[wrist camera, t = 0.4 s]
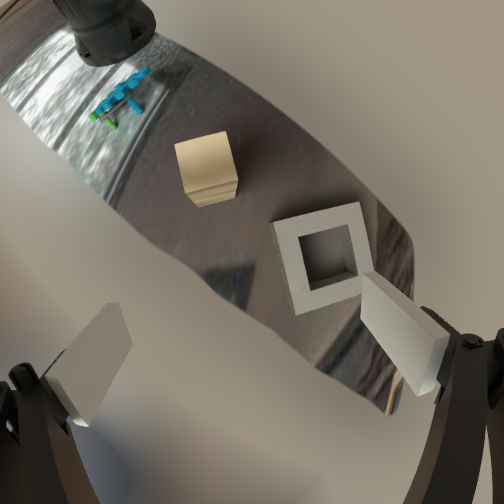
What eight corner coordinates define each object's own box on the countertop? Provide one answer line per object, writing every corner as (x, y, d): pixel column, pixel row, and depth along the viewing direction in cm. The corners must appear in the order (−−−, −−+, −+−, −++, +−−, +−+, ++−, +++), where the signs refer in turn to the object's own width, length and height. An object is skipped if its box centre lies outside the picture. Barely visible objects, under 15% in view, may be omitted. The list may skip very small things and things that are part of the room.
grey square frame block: (268, 223, 37) (273, 222, 33) (346, 204, 38) (359, 201, 34) (289, 307, 38) (295, 315, 34) (363, 283, 39) (376, 287, 35)
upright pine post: (190, 172, 36) (174, 144, 24) (225, 163, 36) (225, 131, 24) (198, 207, 36) (185, 193, 24) (234, 197, 37) (238, 179, 25)
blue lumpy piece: (144, 61, 32) (147, 65, 26) (164, 86, 37) (172, 97, 31) (90, 105, 33) (81, 121, 27) (112, 128, 38) (108, 149, 32)
